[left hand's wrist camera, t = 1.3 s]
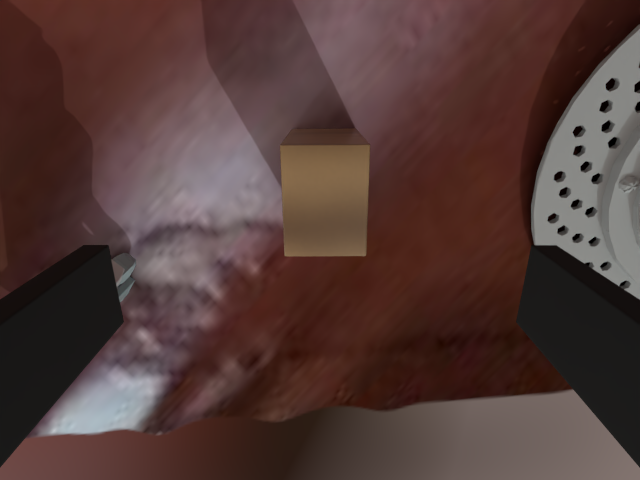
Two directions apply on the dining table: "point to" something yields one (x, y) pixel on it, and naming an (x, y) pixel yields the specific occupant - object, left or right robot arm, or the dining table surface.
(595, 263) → the brake disc
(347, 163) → the block
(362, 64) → the dining table surface
